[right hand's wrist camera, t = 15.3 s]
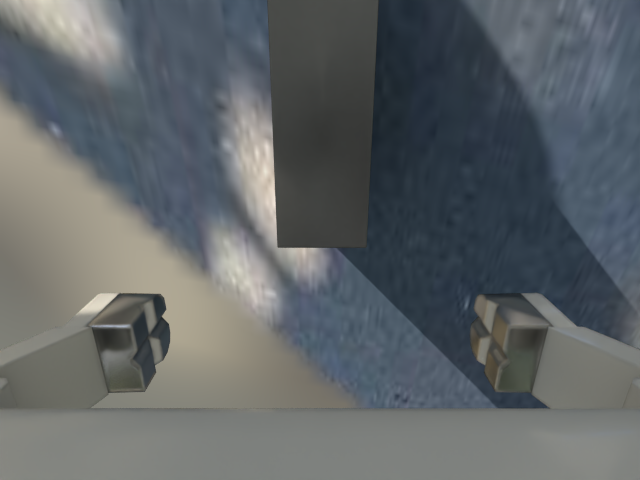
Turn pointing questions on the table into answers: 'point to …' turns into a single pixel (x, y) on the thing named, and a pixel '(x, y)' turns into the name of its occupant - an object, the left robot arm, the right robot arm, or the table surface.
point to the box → (322, 119)
